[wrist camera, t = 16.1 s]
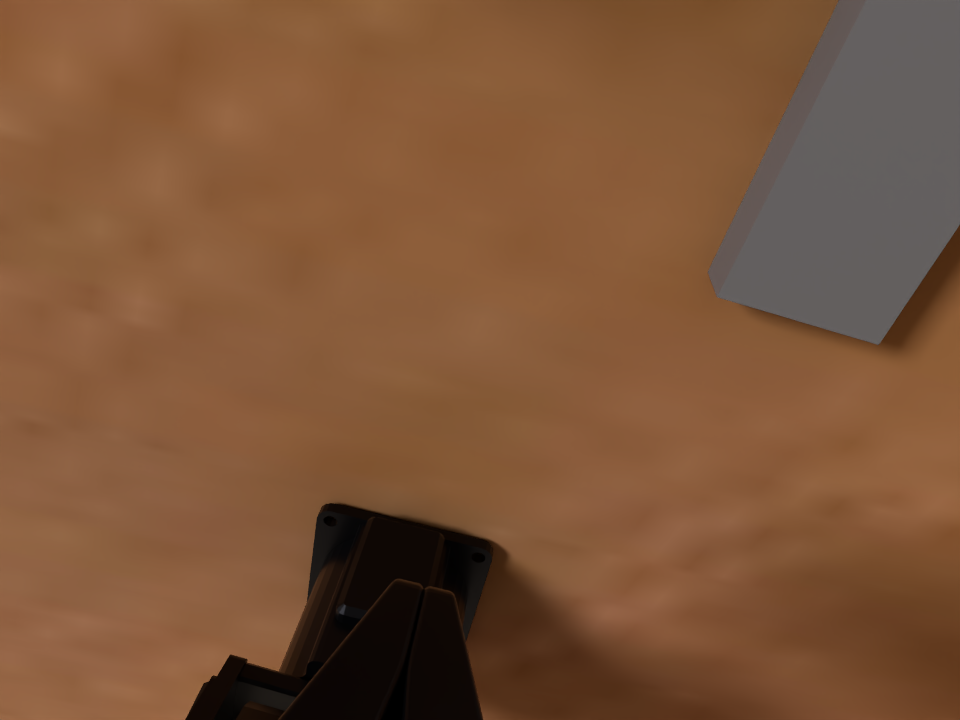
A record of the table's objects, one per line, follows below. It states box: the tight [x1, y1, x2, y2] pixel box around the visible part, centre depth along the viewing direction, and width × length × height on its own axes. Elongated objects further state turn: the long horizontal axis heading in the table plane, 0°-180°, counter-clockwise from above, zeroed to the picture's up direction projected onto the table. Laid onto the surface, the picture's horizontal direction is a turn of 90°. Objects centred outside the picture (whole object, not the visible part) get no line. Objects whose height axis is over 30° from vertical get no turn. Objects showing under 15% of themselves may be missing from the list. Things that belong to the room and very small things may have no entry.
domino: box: [708, 0, 960, 345], centre depth 17 cm, size 2×4×8 cm
